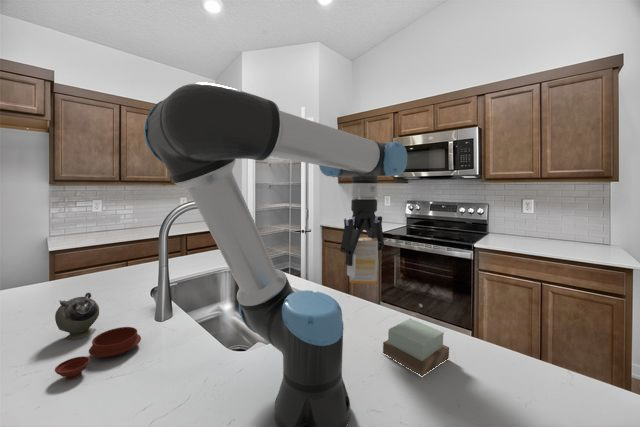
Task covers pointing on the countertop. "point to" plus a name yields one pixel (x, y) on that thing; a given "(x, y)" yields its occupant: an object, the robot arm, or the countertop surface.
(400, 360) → the tower base block
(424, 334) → the tower top block
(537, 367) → the countertop surface
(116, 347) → the pottery
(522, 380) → the countertop surface
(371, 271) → the supplement box
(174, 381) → the countertop surface
